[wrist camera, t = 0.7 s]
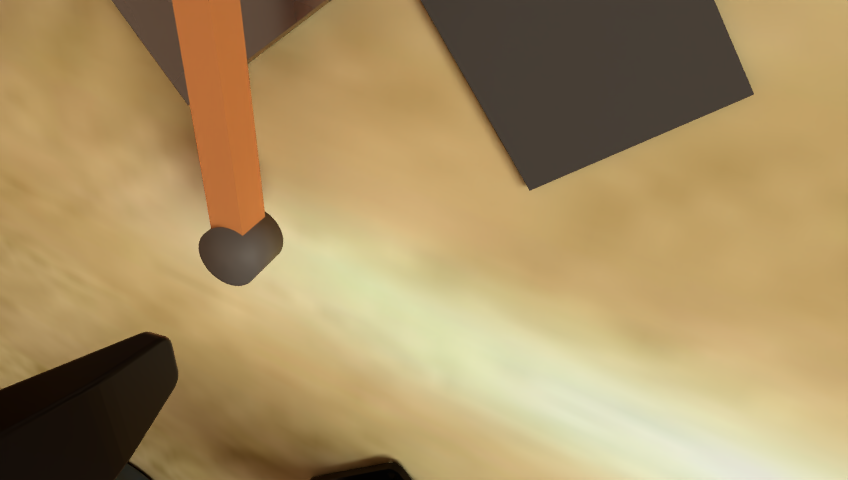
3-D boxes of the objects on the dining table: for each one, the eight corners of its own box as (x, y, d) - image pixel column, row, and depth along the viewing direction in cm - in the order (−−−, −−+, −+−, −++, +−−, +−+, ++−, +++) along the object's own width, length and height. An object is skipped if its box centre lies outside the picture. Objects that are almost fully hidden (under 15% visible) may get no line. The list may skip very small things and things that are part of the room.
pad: (531, 187, 20) (529, 190, 20) (422, -4, 18) (419, -2, 18) (752, 91, 17) (754, 94, 17) (647, -158, 15) (646, -158, 15)
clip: (443, 269, 22) (402, 344, 19) (260, 229, 24) (190, 290, 21) (472, -160, 15) (414, -171, 12) (211, -169, 17) (93, -180, 14)
